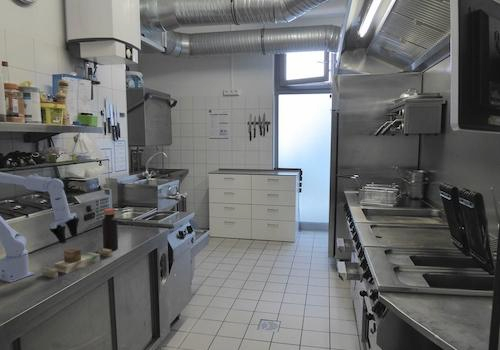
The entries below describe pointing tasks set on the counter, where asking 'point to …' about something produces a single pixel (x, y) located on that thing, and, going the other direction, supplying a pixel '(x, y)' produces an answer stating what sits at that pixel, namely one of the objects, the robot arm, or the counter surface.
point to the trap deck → (76, 263)
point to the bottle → (110, 230)
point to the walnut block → (72, 255)
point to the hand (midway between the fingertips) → (68, 239)
